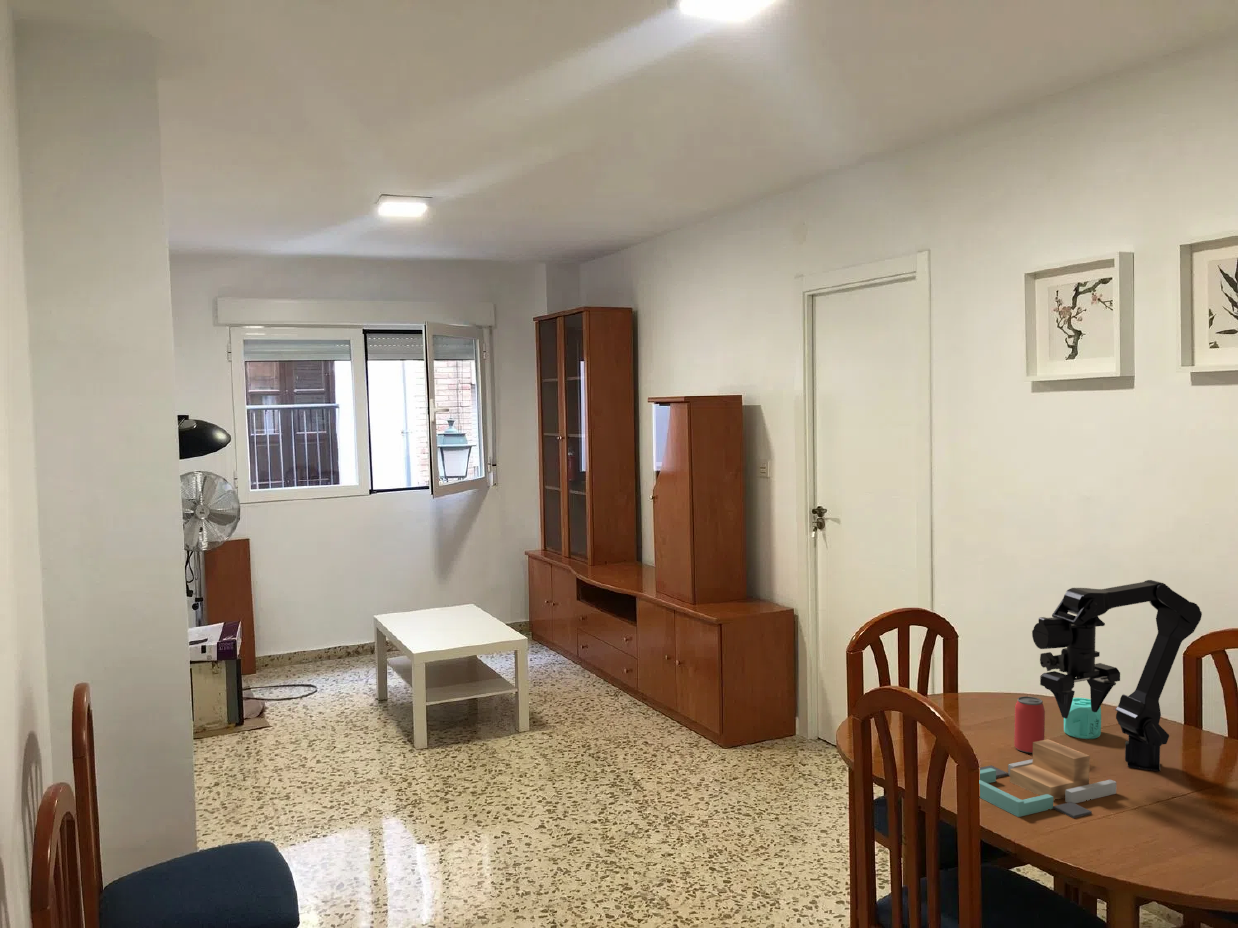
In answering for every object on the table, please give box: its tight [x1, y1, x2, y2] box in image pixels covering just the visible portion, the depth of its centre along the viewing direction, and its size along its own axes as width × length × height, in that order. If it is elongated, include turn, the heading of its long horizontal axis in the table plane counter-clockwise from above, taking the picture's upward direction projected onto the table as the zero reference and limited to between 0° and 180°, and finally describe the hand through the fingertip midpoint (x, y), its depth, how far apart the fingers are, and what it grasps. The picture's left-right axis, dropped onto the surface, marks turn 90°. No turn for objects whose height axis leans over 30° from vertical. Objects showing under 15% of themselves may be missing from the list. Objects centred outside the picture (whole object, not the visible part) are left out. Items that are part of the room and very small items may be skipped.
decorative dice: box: [1063, 697, 1102, 740], centre depth 241 cm, size 8×8×8 cm
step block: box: [1009, 738, 1091, 801], centre depth 209 cm, size 11×11×8 cm
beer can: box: [1013, 695, 1046, 754], centre depth 231 cm, size 7×7×12 cm
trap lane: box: [979, 758, 1117, 819], centre depth 208 cm, size 28×27×3 cm
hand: (1079, 714), depth 217 cm, fingers open, 9 cm apart
